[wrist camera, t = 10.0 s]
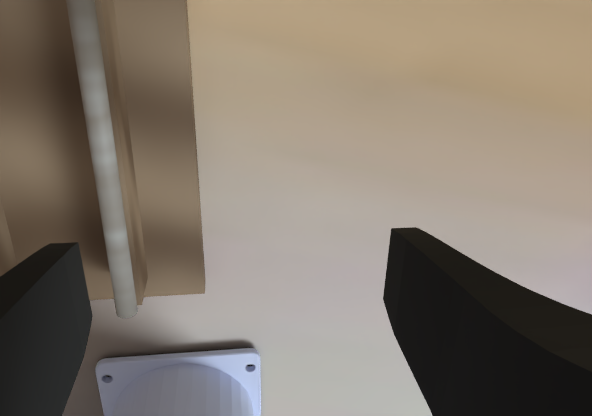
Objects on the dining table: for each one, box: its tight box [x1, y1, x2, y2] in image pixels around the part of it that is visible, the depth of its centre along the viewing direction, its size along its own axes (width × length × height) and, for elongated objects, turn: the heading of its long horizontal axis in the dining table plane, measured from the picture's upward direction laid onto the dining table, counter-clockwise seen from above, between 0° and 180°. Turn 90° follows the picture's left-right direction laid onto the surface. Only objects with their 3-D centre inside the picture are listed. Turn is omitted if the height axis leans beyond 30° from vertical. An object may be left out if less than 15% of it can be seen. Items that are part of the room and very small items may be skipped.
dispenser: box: [0, 0, 205, 318], centre depth 18 cm, size 18×11×4 cm, turn 179°
